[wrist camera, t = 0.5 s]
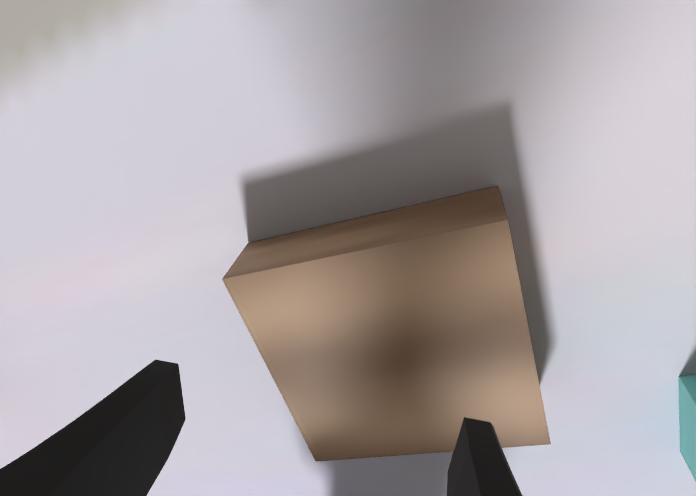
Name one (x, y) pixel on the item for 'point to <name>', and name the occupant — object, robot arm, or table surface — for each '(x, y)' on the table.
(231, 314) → the table surface
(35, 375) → the table surface
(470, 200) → the walnut base
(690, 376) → the teal cube
